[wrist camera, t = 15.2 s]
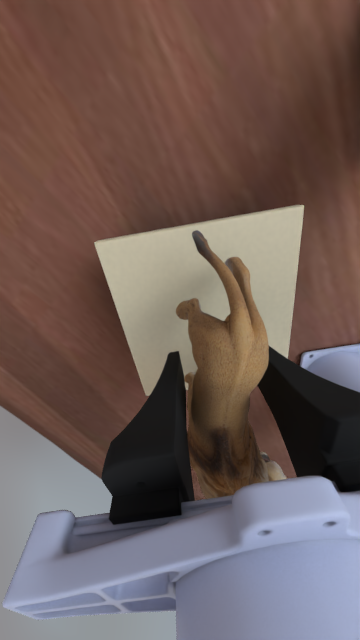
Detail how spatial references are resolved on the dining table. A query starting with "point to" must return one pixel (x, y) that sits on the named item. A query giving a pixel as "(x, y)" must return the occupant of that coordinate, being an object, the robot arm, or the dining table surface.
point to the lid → (200, 281)
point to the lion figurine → (225, 384)
